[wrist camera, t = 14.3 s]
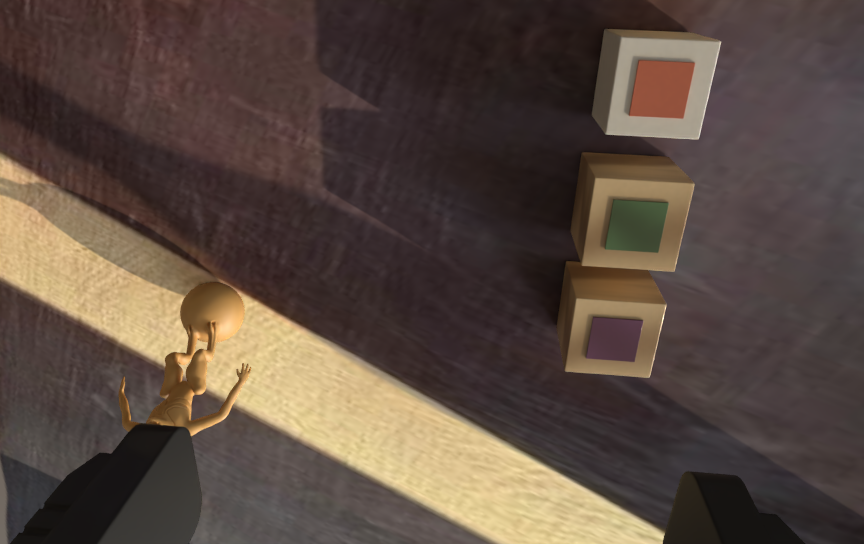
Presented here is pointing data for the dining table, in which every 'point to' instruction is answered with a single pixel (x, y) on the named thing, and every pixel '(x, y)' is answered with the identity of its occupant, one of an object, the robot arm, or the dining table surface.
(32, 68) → the dining table surface
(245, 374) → the figurine
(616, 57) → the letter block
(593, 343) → the block row
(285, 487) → the dining table surface
